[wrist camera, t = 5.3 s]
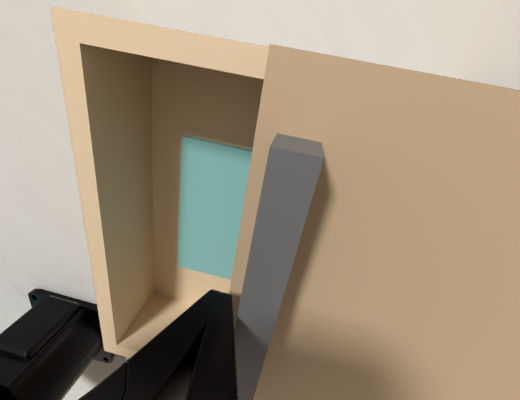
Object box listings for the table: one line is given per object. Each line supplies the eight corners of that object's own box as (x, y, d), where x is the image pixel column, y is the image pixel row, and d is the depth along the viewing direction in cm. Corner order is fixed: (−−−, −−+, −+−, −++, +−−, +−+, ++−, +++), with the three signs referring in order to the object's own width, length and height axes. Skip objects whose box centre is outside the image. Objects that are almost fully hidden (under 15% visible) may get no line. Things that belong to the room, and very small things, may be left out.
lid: (467, 464, 13) (494, 531, 11) (215, 389, 14) (200, 438, 12) (851, 154, 6) (1119, 192, 4) (272, 46, 7) (258, 34, 5)
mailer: (328, 340, 18) (333, 418, 14) (148, 291, 19) (104, 350, 15) (441, 88, 10) (523, 94, 6) (140, 31, 11) (50, 6, 7)
